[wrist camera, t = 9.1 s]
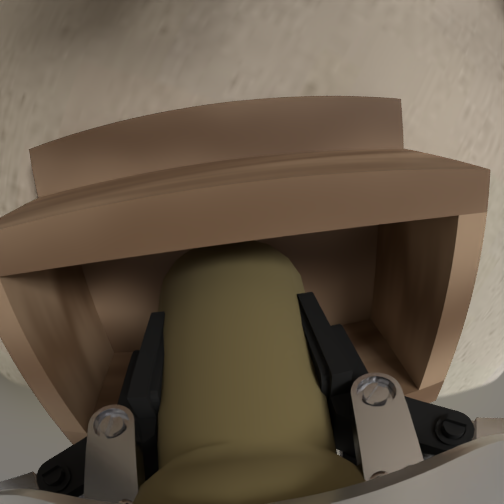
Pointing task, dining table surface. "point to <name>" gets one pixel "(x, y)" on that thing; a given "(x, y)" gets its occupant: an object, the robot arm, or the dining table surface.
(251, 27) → the dining table surface
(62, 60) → the dining table surface
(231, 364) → the cork
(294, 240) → the caddy
